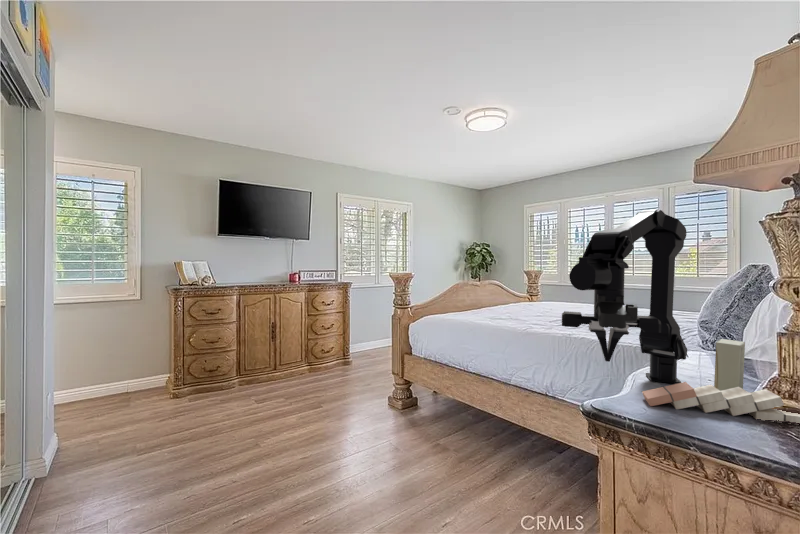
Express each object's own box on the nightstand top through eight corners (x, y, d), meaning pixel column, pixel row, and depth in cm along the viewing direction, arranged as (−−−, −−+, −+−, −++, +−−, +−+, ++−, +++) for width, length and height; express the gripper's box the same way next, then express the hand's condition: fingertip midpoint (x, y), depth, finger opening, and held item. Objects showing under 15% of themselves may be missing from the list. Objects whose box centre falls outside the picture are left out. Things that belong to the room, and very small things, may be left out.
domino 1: (641, 391, 87) (685, 381, 85) (644, 398, 87) (688, 389, 84) (647, 398, 83) (693, 388, 80) (650, 406, 82) (697, 396, 80)
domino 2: (692, 396, 84) (738, 386, 81) (695, 404, 84) (742, 394, 81) (702, 404, 79) (751, 394, 77) (705, 413, 79) (755, 402, 77)
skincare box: (719, 390, 94) (720, 338, 94) (744, 395, 91) (745, 341, 90) (713, 395, 90) (714, 341, 90) (739, 401, 86) (740, 344, 86)
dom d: (717, 399, 83) (765, 389, 80) (721, 407, 82) (768, 397, 80) (729, 407, 78) (780, 396, 75) (733, 416, 78) (784, 405, 75)
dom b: (666, 394, 86) (711, 384, 83) (669, 401, 86) (714, 392, 83) (673, 401, 81) (721, 391, 78) (676, 409, 81) (724, 399, 78)
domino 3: (744, 403, 81) (797, 408, 78) (743, 411, 81) (797, 417, 78) (756, 411, 76) (814, 417, 73) (756, 420, 76) (814, 426, 73)
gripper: (563, 289, 83) (561, 365, 83) (669, 293, 76) (667, 375, 76) (562, 287, 93) (560, 354, 93) (655, 290, 87) (653, 362, 87)
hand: (607, 361), depth 87 cm, fingers closed
